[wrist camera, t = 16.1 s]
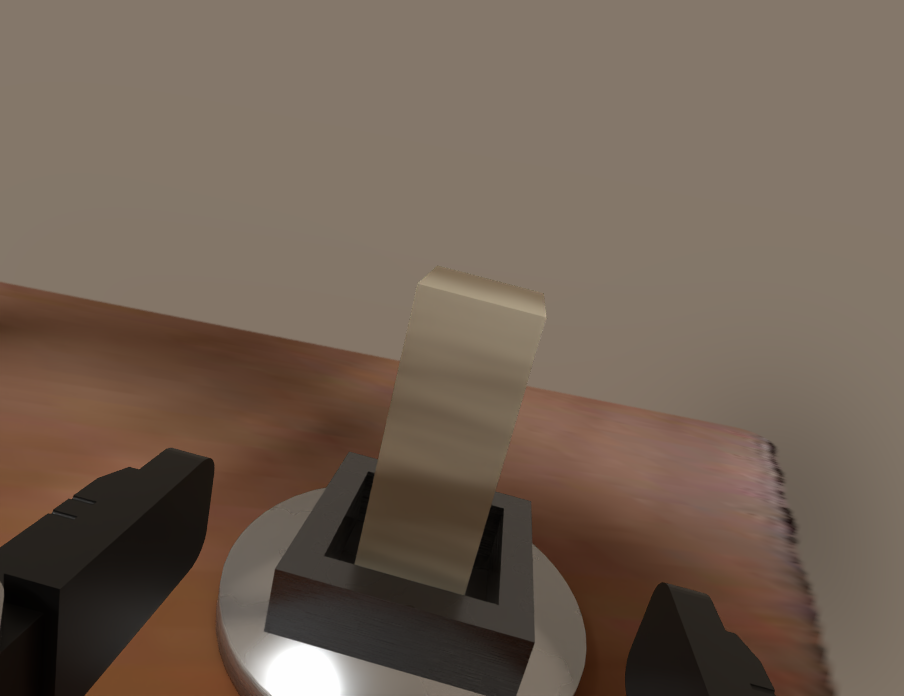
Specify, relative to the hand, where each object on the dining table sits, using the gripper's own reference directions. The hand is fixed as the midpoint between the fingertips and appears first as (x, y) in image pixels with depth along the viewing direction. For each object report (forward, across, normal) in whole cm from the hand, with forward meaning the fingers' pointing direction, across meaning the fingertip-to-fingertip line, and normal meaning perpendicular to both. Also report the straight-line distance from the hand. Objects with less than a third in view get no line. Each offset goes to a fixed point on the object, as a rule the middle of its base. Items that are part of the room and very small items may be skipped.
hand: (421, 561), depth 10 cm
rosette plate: (+11, 0, +10) cm, 15 cm away
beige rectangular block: (+11, 0, +9) cm, 14 cm away
